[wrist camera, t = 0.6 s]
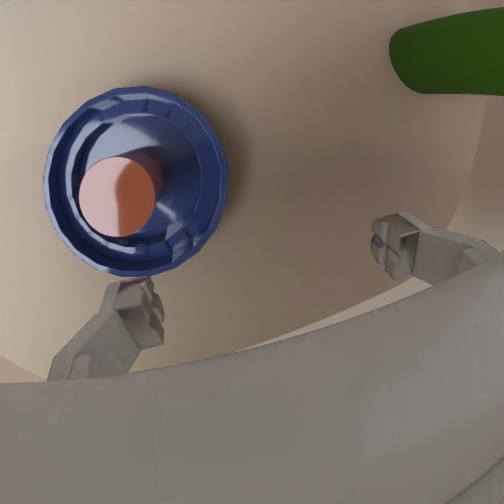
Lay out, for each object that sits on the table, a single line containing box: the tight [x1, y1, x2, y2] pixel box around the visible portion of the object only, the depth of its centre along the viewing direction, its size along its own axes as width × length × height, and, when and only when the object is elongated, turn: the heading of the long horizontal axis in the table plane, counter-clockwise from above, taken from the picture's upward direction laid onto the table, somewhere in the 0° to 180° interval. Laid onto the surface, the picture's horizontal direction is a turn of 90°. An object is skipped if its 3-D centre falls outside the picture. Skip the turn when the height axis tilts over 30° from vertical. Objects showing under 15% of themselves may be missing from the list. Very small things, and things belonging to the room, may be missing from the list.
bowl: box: [43, 86, 228, 277], centre depth 23 cm, size 16×16×4 cm
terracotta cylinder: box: [79, 149, 166, 237], centre depth 21 cm, size 6×6×8 cm
